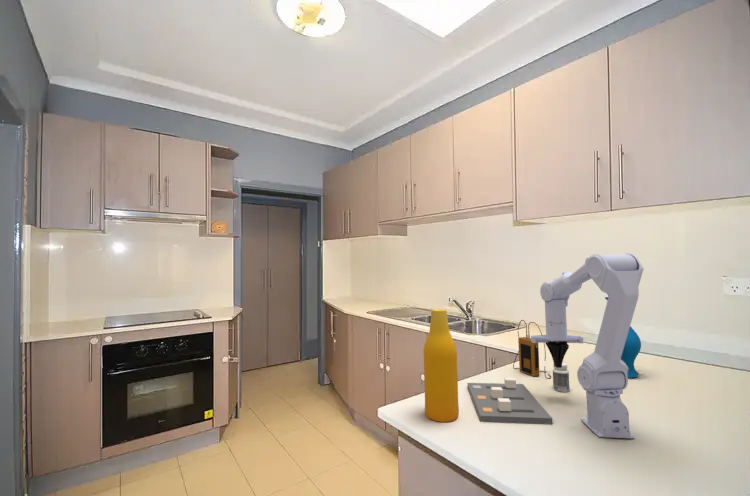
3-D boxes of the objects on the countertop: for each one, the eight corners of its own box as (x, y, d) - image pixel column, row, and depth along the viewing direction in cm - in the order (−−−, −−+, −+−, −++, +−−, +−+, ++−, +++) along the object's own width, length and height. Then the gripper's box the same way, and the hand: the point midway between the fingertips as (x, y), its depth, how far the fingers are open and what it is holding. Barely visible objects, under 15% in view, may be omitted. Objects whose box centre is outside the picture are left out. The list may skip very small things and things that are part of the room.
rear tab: (516, 388, 111) (515, 380, 112) (506, 388, 112) (506, 380, 112) (514, 385, 114) (513, 378, 114) (504, 385, 114) (504, 377, 114)
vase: (610, 378, 124) (606, 299, 125) (597, 368, 136) (593, 296, 138) (650, 380, 121) (645, 299, 123) (632, 370, 133) (628, 296, 135)
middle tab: (503, 398, 103) (502, 389, 103) (492, 398, 104) (492, 389, 104) (501, 395, 106) (501, 387, 106) (491, 395, 106) (490, 386, 106)
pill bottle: (571, 392, 112) (570, 366, 112) (555, 391, 113) (554, 365, 113) (566, 387, 116) (565, 362, 117) (551, 386, 117) (550, 361, 118)
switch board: (552, 424, 90) (552, 417, 90) (480, 421, 93) (480, 415, 93) (523, 388, 116) (522, 383, 116) (467, 387, 118) (467, 382, 118)
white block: (511, 411, 94) (510, 401, 94) (499, 410, 95) (499, 401, 95) (509, 407, 97) (508, 398, 97) (497, 407, 97) (497, 398, 97)
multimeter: (562, 376, 128) (560, 321, 129) (542, 380, 124) (540, 323, 125) (531, 366, 141) (529, 316, 142) (512, 369, 138) (510, 318, 139)
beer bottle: (463, 412, 98) (459, 308, 100) (452, 425, 90) (449, 312, 92) (432, 406, 103) (429, 307, 105) (419, 418, 95) (417, 311, 97)
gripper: (575, 319, 110) (577, 363, 110) (527, 319, 112) (528, 362, 111) (585, 323, 103) (588, 370, 103) (534, 323, 105) (536, 369, 104)
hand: (557, 366), depth 107 cm, fingers closed
